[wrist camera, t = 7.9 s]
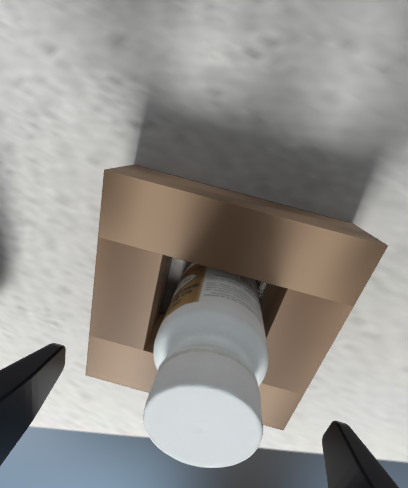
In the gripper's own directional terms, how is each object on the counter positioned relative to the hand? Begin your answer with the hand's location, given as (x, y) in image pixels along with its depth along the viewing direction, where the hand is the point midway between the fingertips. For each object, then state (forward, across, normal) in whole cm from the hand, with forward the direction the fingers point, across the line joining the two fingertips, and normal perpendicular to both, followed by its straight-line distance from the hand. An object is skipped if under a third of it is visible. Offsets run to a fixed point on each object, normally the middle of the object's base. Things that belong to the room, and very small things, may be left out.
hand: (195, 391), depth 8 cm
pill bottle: (+7, 0, 0) cm, 7 cm away
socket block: (+6, 0, 0) cm, 7 cm away
